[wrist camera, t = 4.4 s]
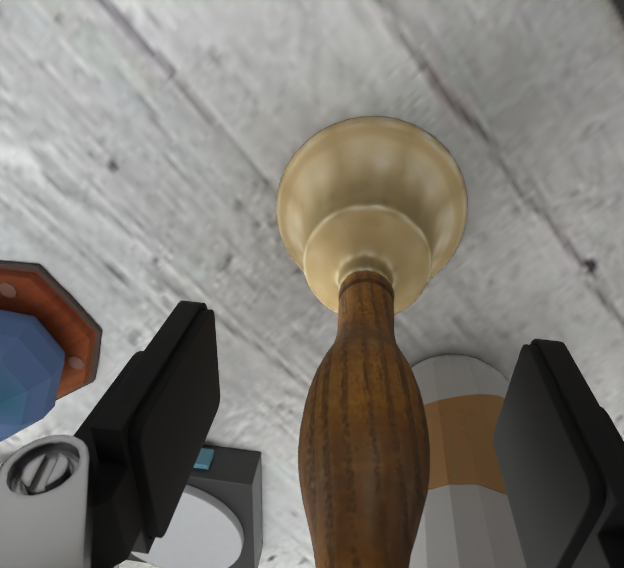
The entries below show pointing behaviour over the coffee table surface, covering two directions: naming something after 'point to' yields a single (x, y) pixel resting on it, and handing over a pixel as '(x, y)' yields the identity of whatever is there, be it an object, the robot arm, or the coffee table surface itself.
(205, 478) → the scale
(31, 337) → the model
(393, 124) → the hand bell
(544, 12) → the coffee table surface
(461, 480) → the coffee cup
